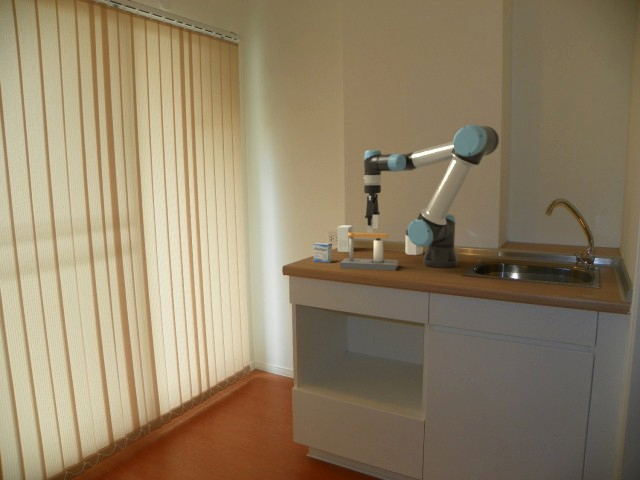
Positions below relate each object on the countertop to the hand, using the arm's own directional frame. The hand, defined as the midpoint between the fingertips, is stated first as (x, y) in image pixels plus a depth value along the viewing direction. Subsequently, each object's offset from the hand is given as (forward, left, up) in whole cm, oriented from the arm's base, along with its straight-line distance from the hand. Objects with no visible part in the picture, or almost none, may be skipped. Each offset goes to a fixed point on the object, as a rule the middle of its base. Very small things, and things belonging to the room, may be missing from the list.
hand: (372, 230), depth 228 cm
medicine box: (+23, +4, -15) cm, 28 cm away
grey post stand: (-1, +14, -15) cm, 20 cm away
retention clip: (0, +14, -1) cm, 14 cm away
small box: (+19, -26, -15) cm, 35 cm away
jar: (-17, -24, -15) cm, 33 cm away
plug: (-5, +14, -14) cm, 21 cm away
